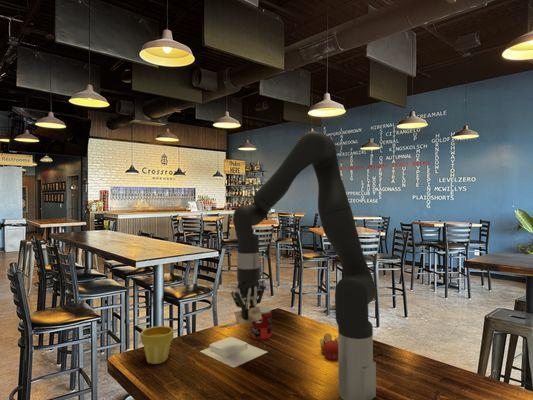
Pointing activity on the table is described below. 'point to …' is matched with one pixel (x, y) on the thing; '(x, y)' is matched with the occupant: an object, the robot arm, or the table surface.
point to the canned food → (262, 325)
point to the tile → (228, 346)
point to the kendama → (329, 346)
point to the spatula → (253, 315)
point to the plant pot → (157, 343)
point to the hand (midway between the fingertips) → (248, 318)
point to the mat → (236, 356)
